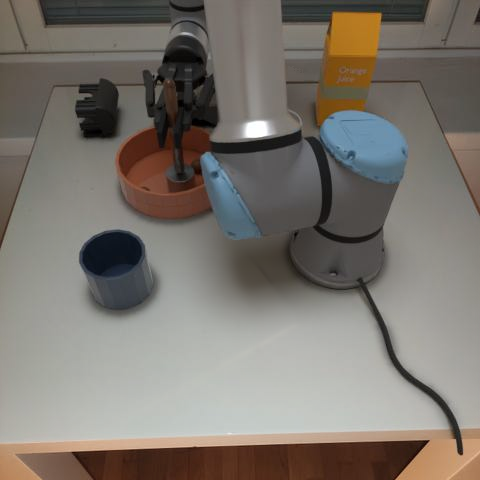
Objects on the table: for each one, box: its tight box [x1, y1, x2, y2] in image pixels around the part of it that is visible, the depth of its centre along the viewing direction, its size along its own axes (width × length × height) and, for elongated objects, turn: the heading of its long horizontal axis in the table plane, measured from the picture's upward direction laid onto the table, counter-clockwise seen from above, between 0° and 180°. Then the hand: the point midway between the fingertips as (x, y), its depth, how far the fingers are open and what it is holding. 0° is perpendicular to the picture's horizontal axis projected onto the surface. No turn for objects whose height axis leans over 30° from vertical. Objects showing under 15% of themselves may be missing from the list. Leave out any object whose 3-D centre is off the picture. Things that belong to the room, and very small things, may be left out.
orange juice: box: [314, 11, 383, 127], centre depth 91 cm, size 8×9×20 cm
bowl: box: [114, 125, 213, 220], centre depth 85 cm, size 19×19×6 cm
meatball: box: [191, 159, 202, 173], centre depth 88 cm, size 2×2×2 cm
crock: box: [78, 228, 154, 311], centre depth 71 cm, size 9×9×8 cm
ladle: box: [162, 78, 195, 193], centre depth 77 cm, size 5×5×20 cm
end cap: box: [74, 77, 120, 138], centre depth 95 cm, size 10×7×7 cm
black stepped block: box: [176, 91, 218, 128], centre depth 97 cm, size 12×7×5 cm, turn 90°
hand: (168, 140), depth 71 cm, fingers closed on ladle, 2 cm apart
